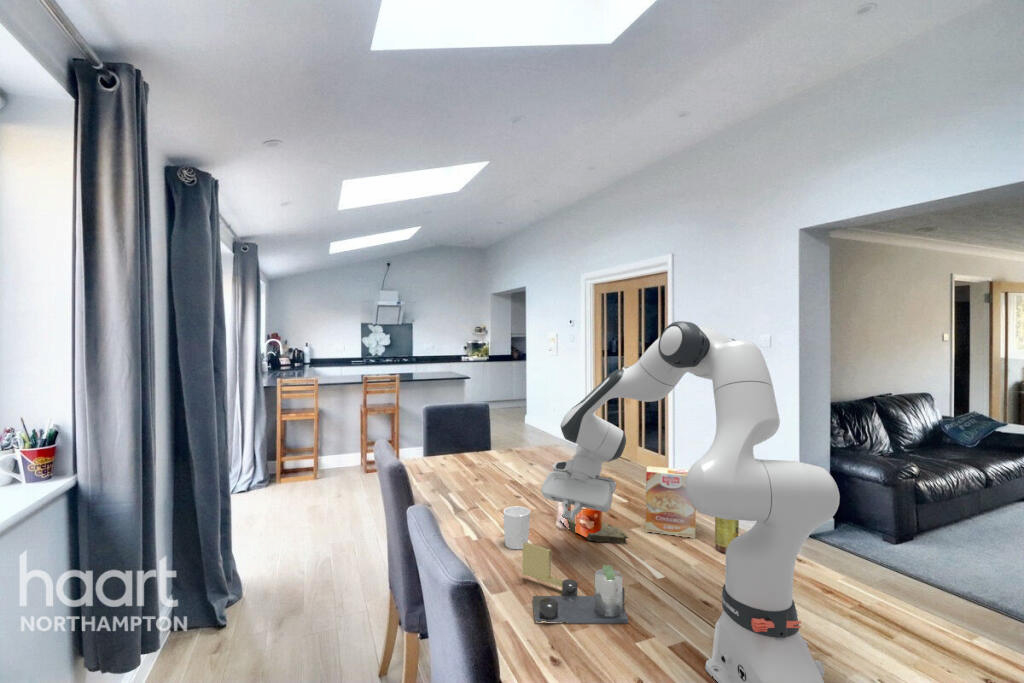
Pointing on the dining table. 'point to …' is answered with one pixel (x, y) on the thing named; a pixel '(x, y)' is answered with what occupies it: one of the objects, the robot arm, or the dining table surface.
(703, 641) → the dining table surface
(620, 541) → the stone slab
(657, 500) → the coffeecake box
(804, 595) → the dining table surface
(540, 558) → the olive upright panel
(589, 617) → the base
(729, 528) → the sauce bottle
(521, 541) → the white cup
